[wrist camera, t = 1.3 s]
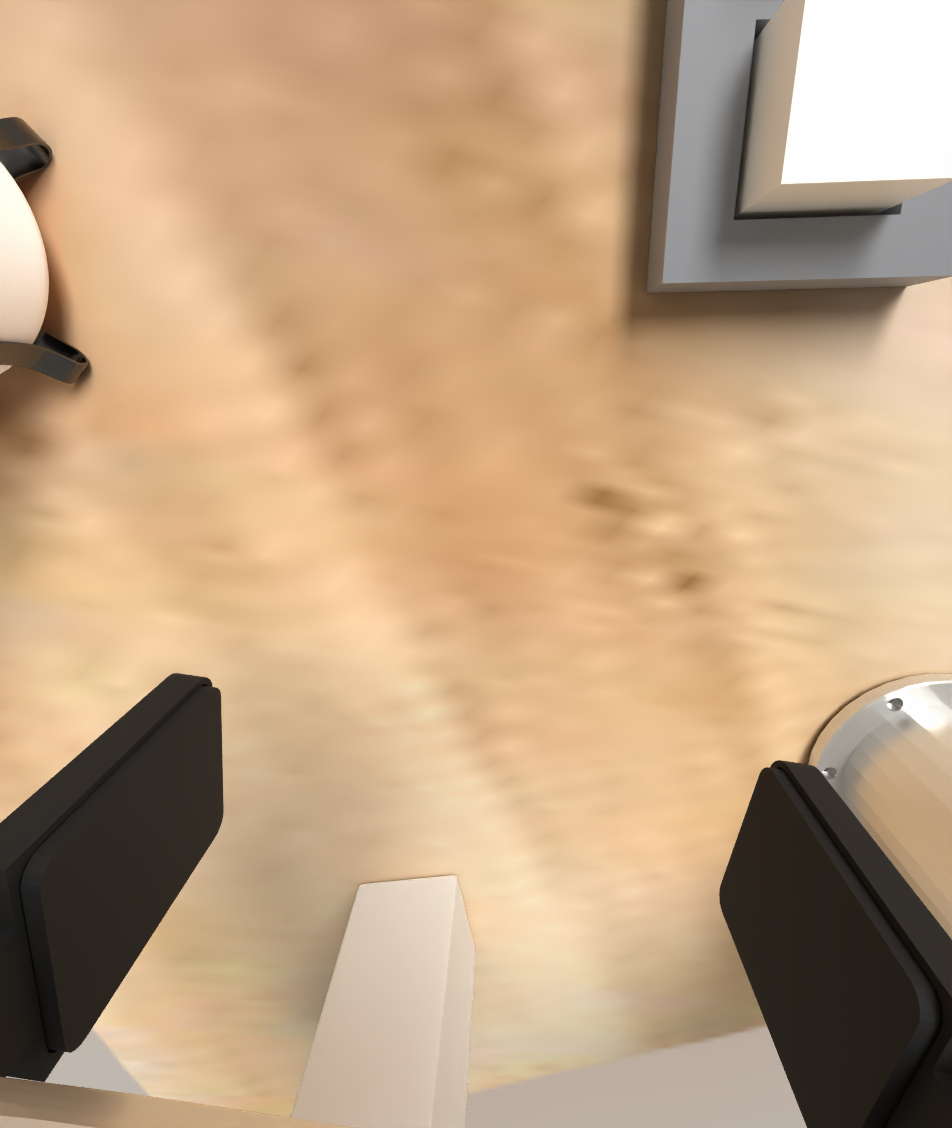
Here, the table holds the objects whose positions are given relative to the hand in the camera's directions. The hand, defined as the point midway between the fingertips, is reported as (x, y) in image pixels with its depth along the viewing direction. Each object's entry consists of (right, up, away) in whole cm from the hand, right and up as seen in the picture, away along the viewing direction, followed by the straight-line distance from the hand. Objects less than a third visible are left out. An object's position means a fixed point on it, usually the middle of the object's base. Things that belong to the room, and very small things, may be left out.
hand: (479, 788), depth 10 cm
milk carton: (-4, -21, +31) cm, 38 cm away
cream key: (+14, +22, +14) cm, 29 cm away
